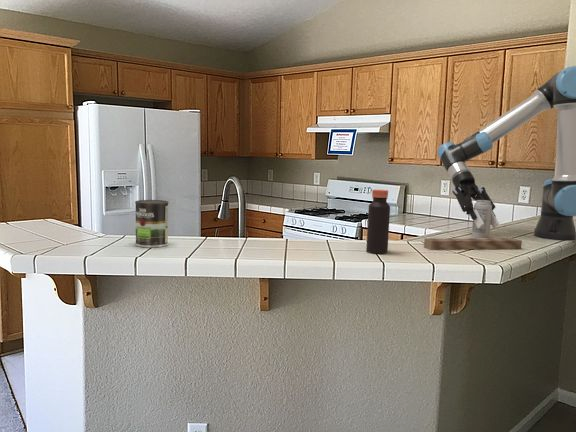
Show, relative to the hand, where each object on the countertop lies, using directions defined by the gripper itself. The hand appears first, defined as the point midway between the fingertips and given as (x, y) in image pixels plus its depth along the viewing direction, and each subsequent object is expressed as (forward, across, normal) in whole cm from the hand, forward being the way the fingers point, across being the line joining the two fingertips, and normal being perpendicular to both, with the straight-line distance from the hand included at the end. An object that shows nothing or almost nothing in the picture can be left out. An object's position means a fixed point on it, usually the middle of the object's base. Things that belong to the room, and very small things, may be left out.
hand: (488, 225), depth 182 cm
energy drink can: (+2, 0, -7) cm, 7 cm away
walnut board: (+7, +9, -3) cm, 12 cm away
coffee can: (-13, +113, -24) cm, 117 cm away
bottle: (+6, +46, -4) cm, 47 cm away
